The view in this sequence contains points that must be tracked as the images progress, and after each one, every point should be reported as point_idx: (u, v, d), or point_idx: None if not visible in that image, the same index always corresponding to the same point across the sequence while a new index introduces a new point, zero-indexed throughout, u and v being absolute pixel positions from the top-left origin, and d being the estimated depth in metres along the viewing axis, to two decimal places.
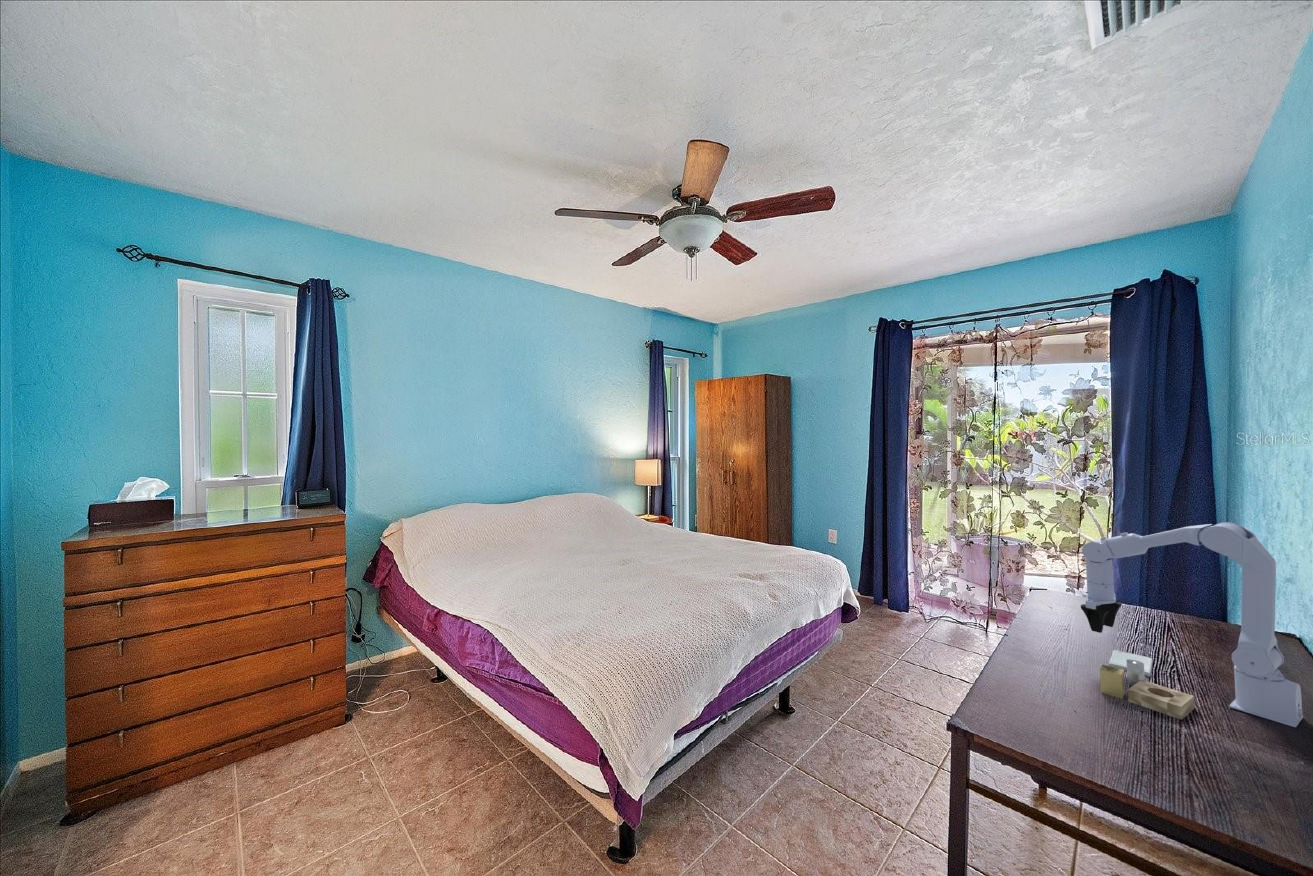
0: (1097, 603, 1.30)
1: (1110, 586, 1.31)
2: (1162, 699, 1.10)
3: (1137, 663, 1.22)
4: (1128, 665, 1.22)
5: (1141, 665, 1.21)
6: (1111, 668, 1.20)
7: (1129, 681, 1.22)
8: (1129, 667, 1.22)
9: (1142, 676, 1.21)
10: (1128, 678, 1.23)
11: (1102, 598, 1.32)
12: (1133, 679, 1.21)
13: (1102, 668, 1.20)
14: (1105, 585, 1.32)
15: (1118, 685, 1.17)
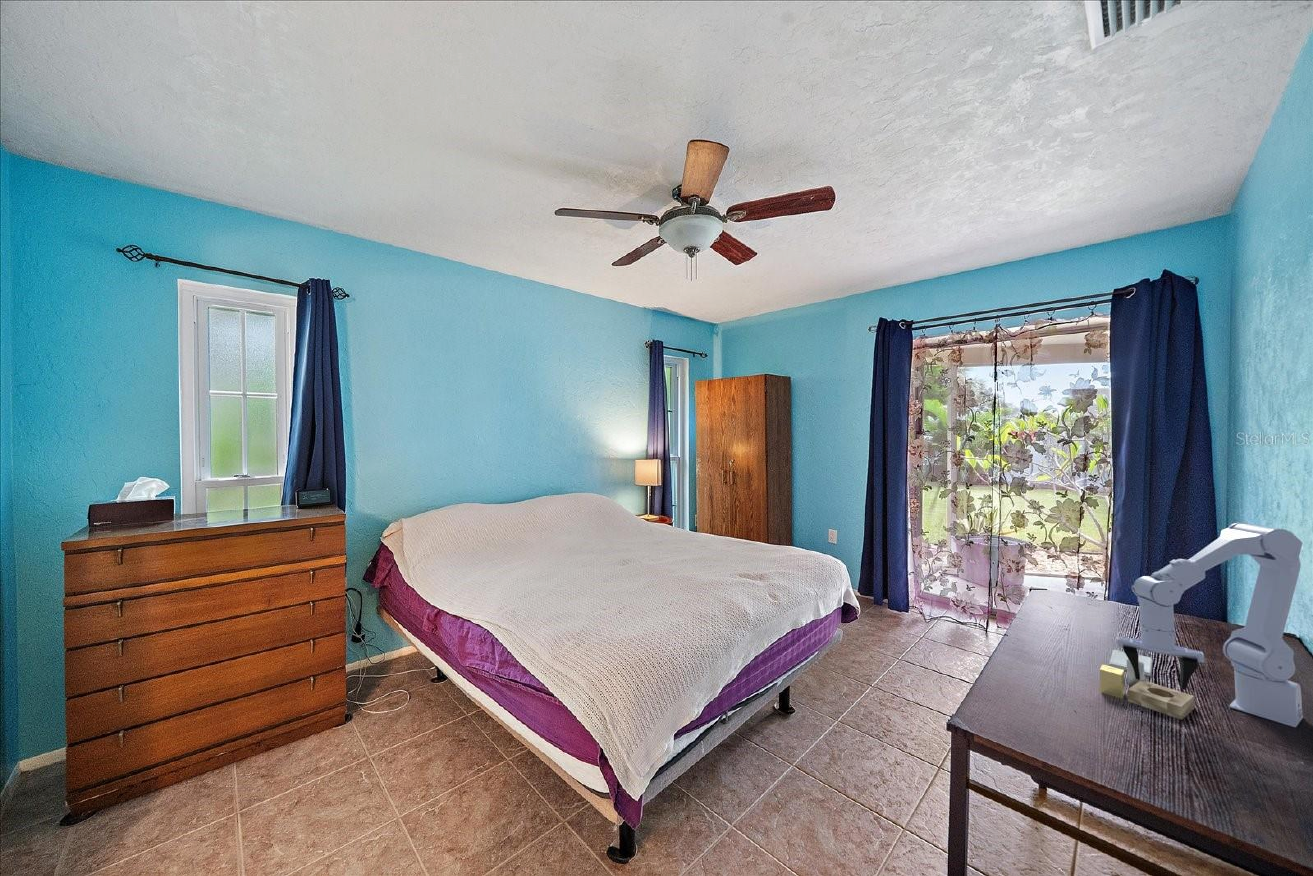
0: (1125, 642, 1.16)
1: (1152, 631, 1.12)
2: (1162, 699, 1.10)
3: None
4: (1128, 665, 1.22)
5: (1141, 665, 1.21)
6: (1111, 668, 1.20)
7: (1129, 681, 1.22)
8: (1129, 667, 1.22)
9: (1142, 676, 1.21)
10: (1128, 678, 1.23)
11: (1143, 642, 1.14)
12: (1133, 679, 1.21)
13: (1102, 668, 1.20)
14: (1146, 628, 1.13)
15: (1118, 685, 1.17)
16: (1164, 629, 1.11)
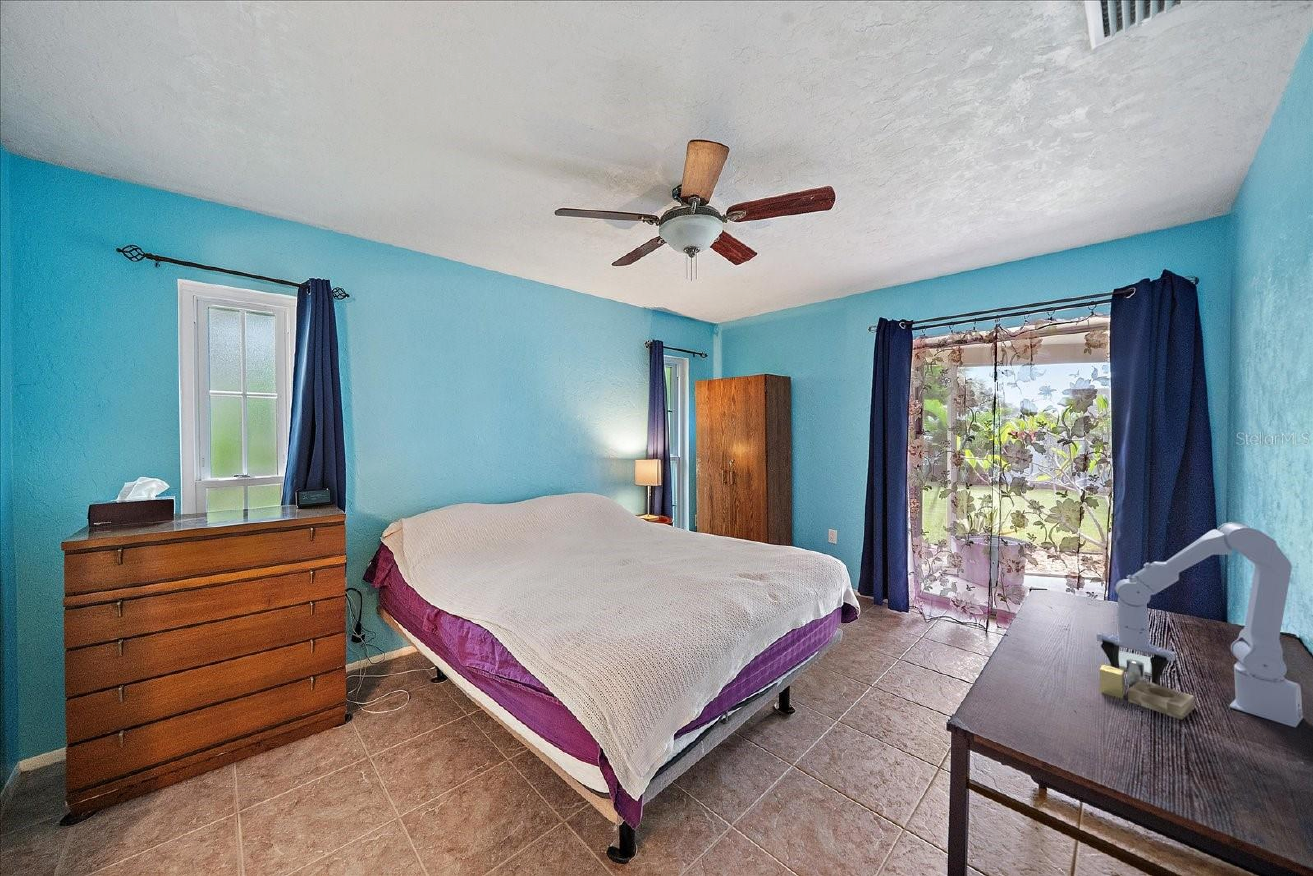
0: (1103, 637, 1.27)
1: (1123, 628, 1.22)
2: (1162, 699, 1.10)
3: (1137, 663, 1.22)
4: (1128, 665, 1.22)
5: (1141, 665, 1.21)
6: (1111, 668, 1.20)
7: (1129, 681, 1.22)
8: (1129, 667, 1.22)
9: (1142, 676, 1.21)
10: (1128, 678, 1.23)
11: (1118, 638, 1.24)
12: (1133, 679, 1.21)
13: (1102, 668, 1.20)
14: (1119, 625, 1.23)
15: (1118, 685, 1.17)
16: (1132, 627, 1.21)
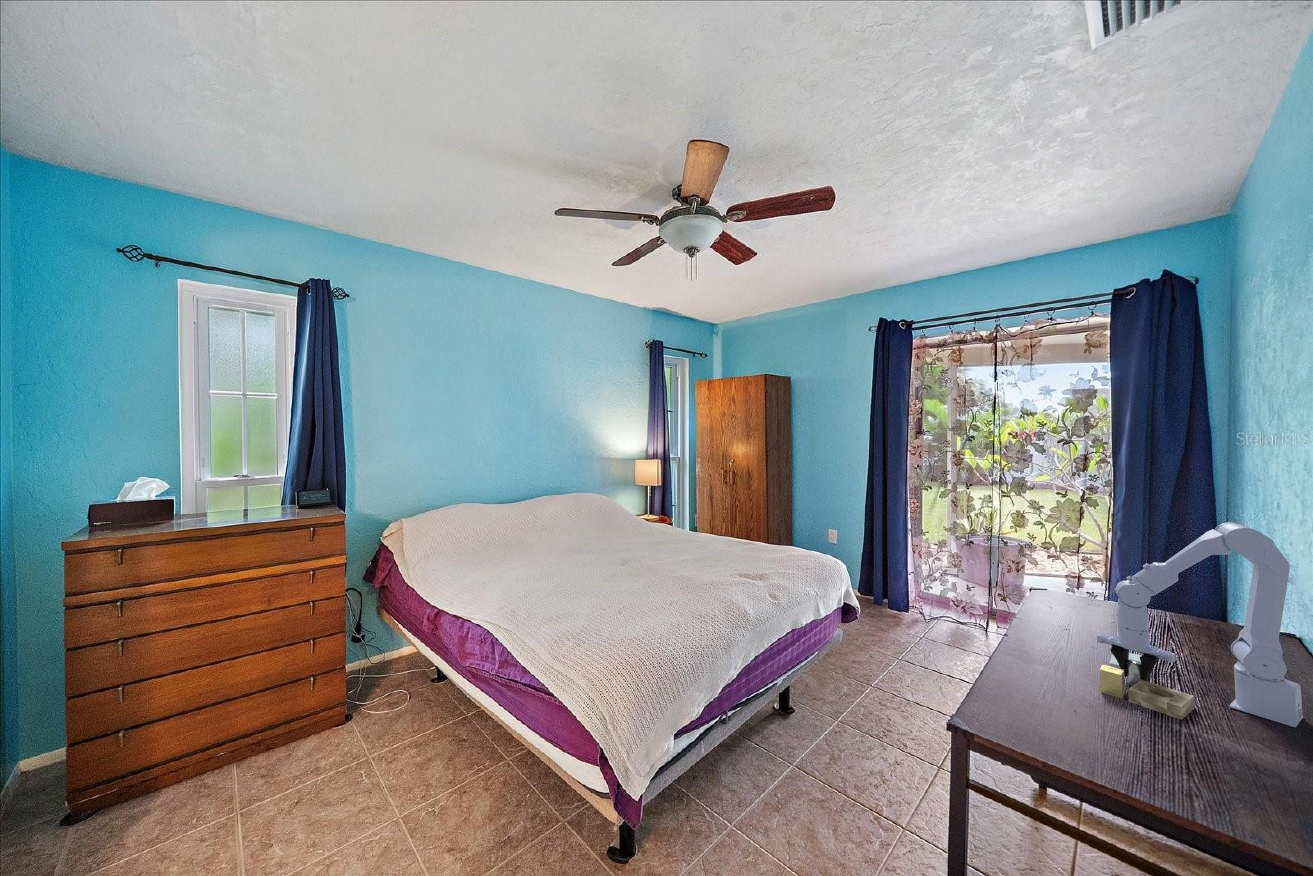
0: (1103, 638, 1.27)
1: (1123, 629, 1.22)
2: (1162, 699, 1.10)
3: (1137, 663, 1.22)
4: (1128, 665, 1.22)
5: None
6: (1111, 668, 1.20)
7: (1129, 681, 1.22)
8: (1129, 667, 1.22)
9: None
10: (1128, 678, 1.23)
11: (1119, 640, 1.24)
12: (1133, 679, 1.21)
13: (1102, 668, 1.20)
14: (1119, 626, 1.23)
15: (1118, 685, 1.17)
16: (1132, 628, 1.21)
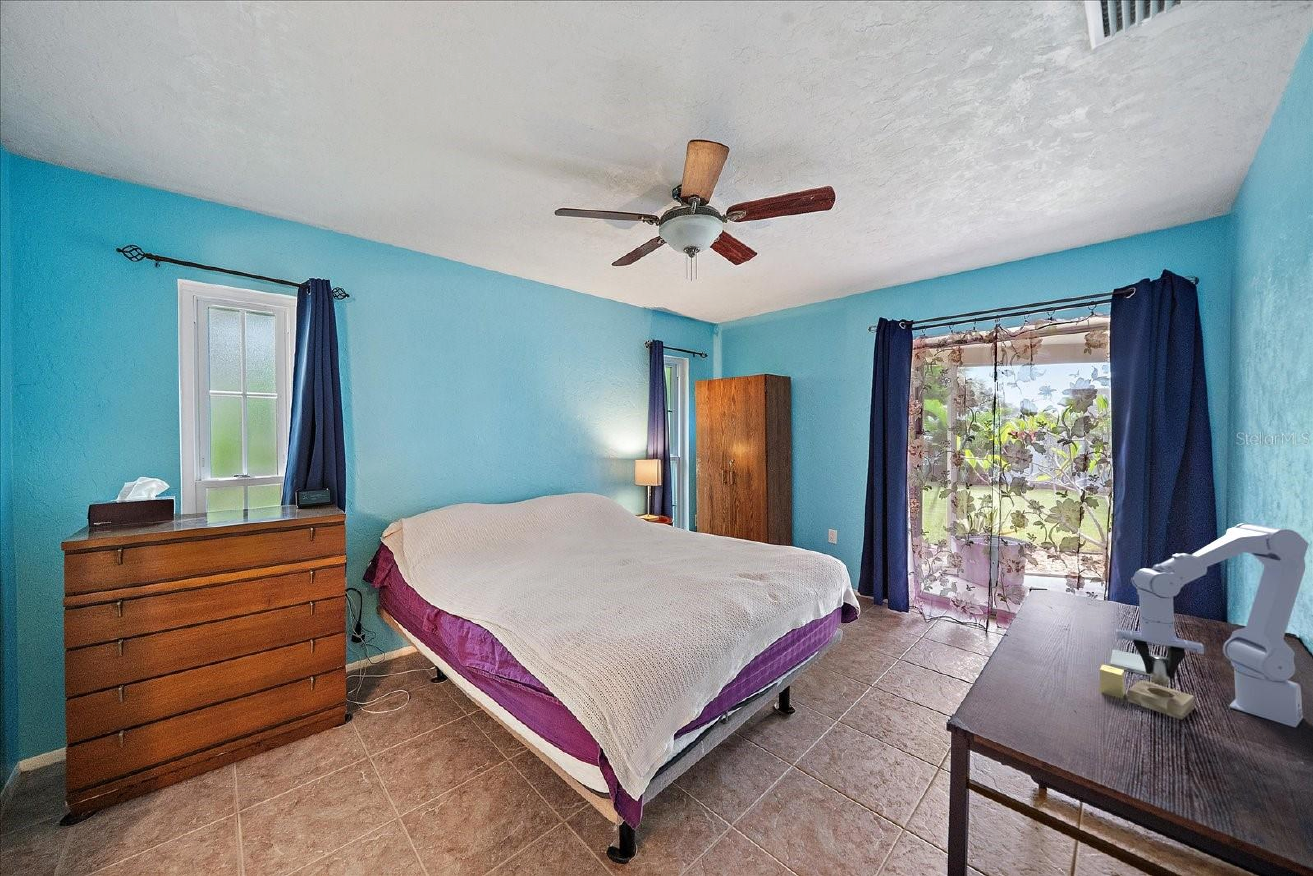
0: (1124, 634, 1.16)
1: (1151, 623, 1.12)
2: (1162, 699, 1.10)
3: (1162, 658, 1.12)
4: (1154, 662, 1.13)
5: (1167, 660, 1.12)
6: (1111, 668, 1.19)
7: (1155, 679, 1.13)
8: (1156, 664, 1.12)
9: (1168, 672, 1.12)
10: (1154, 677, 1.13)
11: (1143, 634, 1.14)
12: (1161, 677, 1.12)
13: (1102, 668, 1.20)
14: (1145, 620, 1.13)
15: (1118, 685, 1.17)
16: (1164, 621, 1.11)
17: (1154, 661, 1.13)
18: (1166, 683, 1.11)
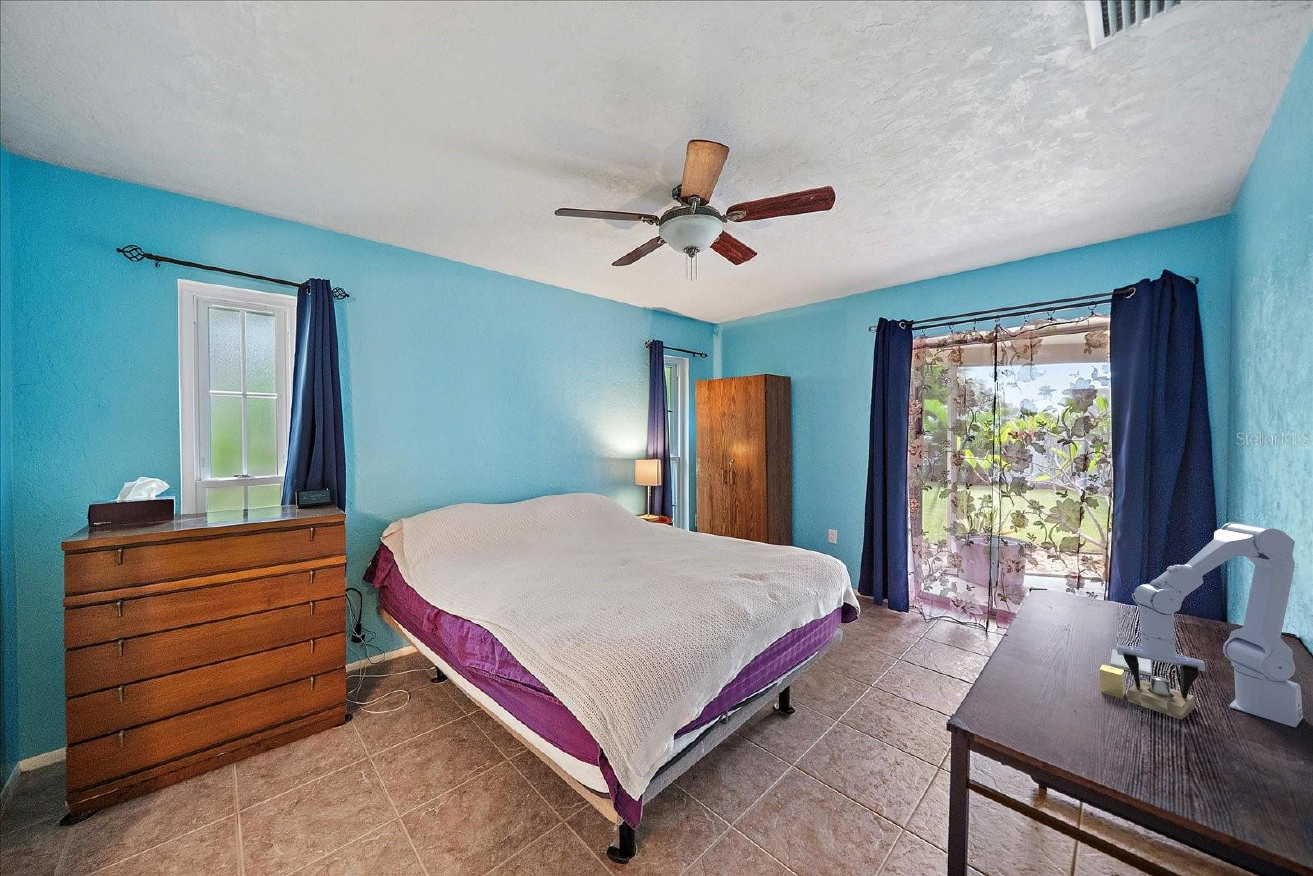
0: (1125, 650, 1.16)
1: (1152, 639, 1.12)
2: (1162, 699, 1.10)
3: (1163, 680, 1.12)
4: (1155, 684, 1.13)
5: (1168, 682, 1.12)
6: (1111, 668, 1.20)
7: None
8: (1157, 686, 1.12)
9: (1169, 694, 1.12)
10: None
11: (1143, 650, 1.14)
12: None
13: (1102, 668, 1.20)
14: (1146, 636, 1.13)
15: (1118, 685, 1.17)
16: (1164, 637, 1.11)
17: (1155, 683, 1.13)
18: None
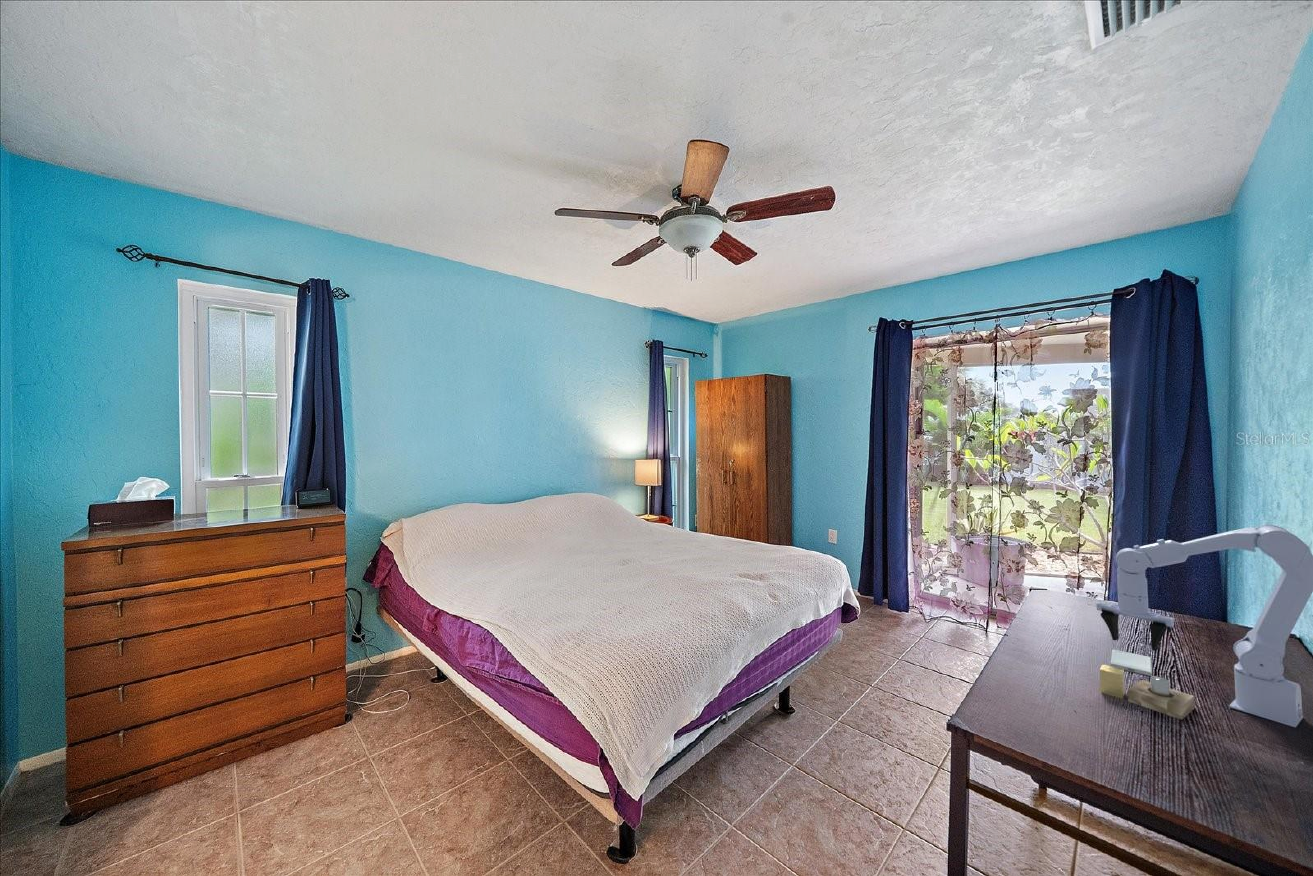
0: (1102, 606, 1.29)
1: (1123, 596, 1.24)
2: (1162, 699, 1.10)
3: (1163, 680, 1.12)
4: (1155, 684, 1.13)
5: (1168, 682, 1.12)
6: (1111, 668, 1.20)
7: None
8: (1157, 686, 1.12)
9: (1169, 694, 1.12)
10: None
11: (1118, 607, 1.26)
12: None
13: (1102, 668, 1.20)
14: (1119, 593, 1.25)
15: (1118, 685, 1.17)
16: (1129, 594, 1.23)
17: (1155, 683, 1.13)
18: None
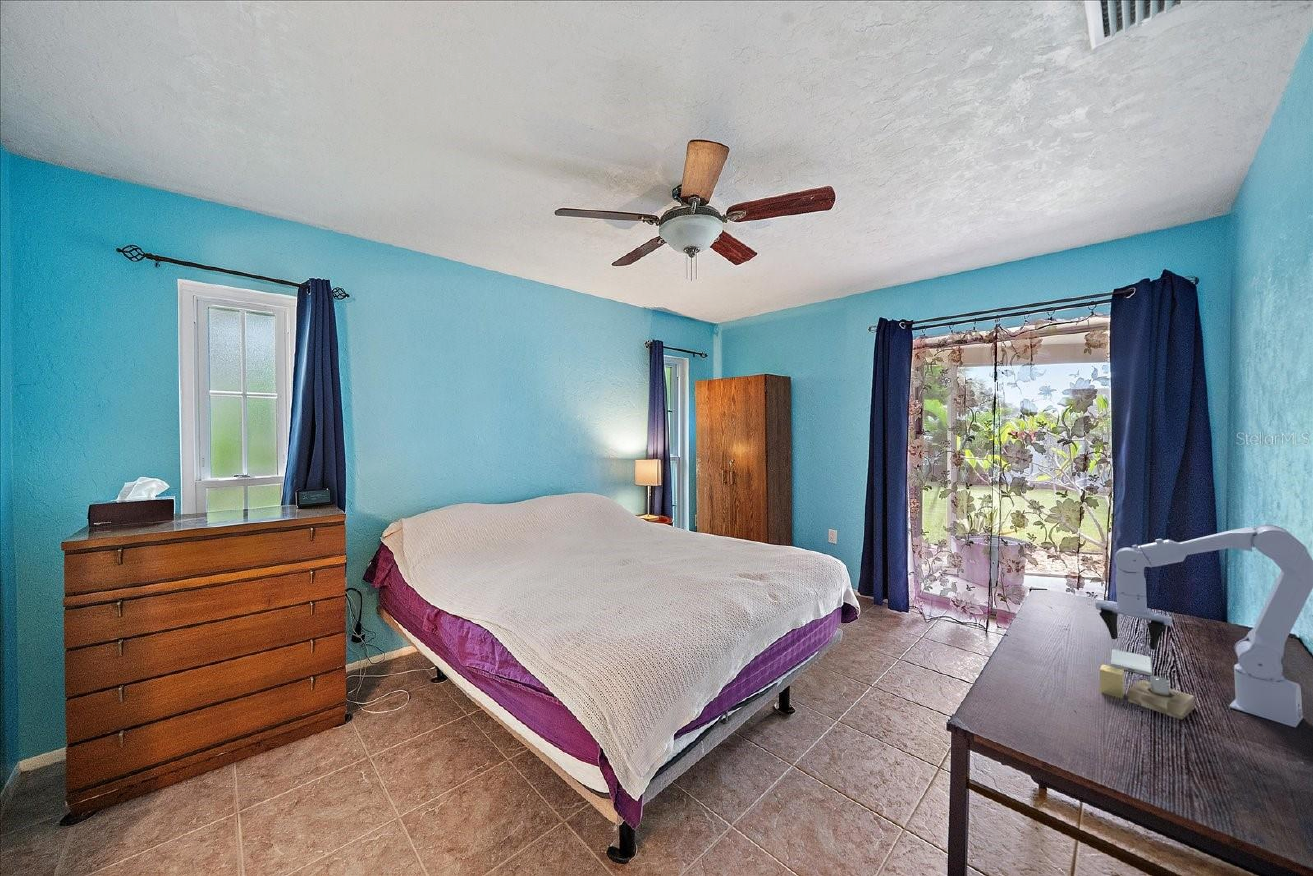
0: (1101, 605, 1.29)
1: (1121, 595, 1.25)
2: (1162, 699, 1.10)
3: (1162, 680, 1.12)
4: (1154, 684, 1.13)
5: (1167, 682, 1.12)
6: (1111, 668, 1.20)
7: None
8: (1156, 686, 1.12)
9: (1169, 694, 1.12)
10: None
11: (1117, 606, 1.26)
12: None
13: (1102, 668, 1.20)
14: (1117, 592, 1.26)
15: (1118, 685, 1.17)
16: (1127, 593, 1.23)
17: (1154, 683, 1.13)
18: None
